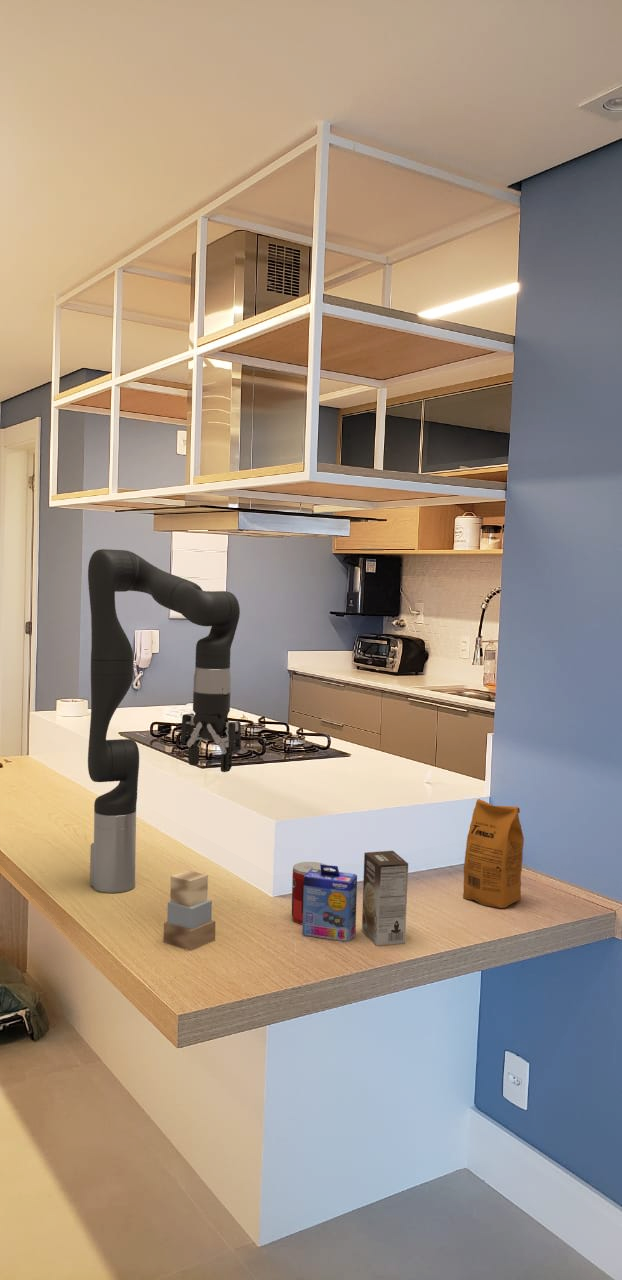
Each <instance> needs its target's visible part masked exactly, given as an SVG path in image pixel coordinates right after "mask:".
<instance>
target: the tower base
mask: <svg viewBox="0 0 622 1280" xmlns="http://www.w3.org/2000/svg"><path fill="white" fill-rule="evenodd" d="M214 941H216V920H214V919H212V920H211V921H210V922H208V923H206V924H204V925H202V926H199V927H197V928H195V929H193V930H191V929H187V928H183V927H180V926H176V925H172V924H168V923H167V921H165V922H163V941H162V942H163V943H165V944H169V945H171V946H175V947H178V948H181V949H184V950H186V951H194V950H196V949H198V948H200V947H202V946H205V945H207V944H209V943H211V942H214Z"/></svg>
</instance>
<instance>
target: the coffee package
mask: <svg viewBox="0 0 622 1280" xmlns="http://www.w3.org/2000/svg"><path fill="white" fill-rule="evenodd" d="M519 813H521V810H520V807H518V806H509V805H506V806H505V805H494V804H491V803H489V802H487V801H485V800H483V799H481V798H478V799H477V800H476V802H475V807H474V809H473V813H472V817H471V821H470V825H469V831H468V833H467V837H466V847H465V854H464V855H465V856H464V863H463V893H462V895H463V896H462V899H465V900H473V901H475V902H477V903H479V904H480V905H482V906H485V907H493V908H498V909H505V908H507V907H509V906H510V905H512V904H513V903H515V902H518V901H520V899H521V898H522V890H521V888H522V887H521V886H522V878H521V875H522V871H523V858H524V856H523V854H524V841H525V840H524V839H525V838H524V835H523V834H524V833H523V829H522V824H521V821H520V817H519V816H520V815H519Z"/></svg>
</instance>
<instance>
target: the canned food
mask: <svg viewBox="0 0 622 1280" xmlns="http://www.w3.org/2000/svg"><path fill="white" fill-rule="evenodd" d="M320 864H322V865H327V864H326V863H322V862H318V861H301V862H297V863H295V864H293V867H292V877H291V878H292V882H291V883H292V884H291V885H292V886H291V890H292V891H291V917H292V920H293V921H294V922H295V921H296V923H297V922H298V924H300V923H301V924H300V925H303V893H304V876H305V874H306V873H308V872H309V871H310V870H311V869H318V870H321V866H320ZM324 870H330V871H331V868H324Z"/></svg>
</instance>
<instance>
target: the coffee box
mask: <svg viewBox="0 0 622 1280" xmlns="http://www.w3.org/2000/svg"><path fill="white" fill-rule="evenodd" d="M363 857H364V860H363V888H362V890H363V891H362V910H361V912H362V914H361V916H362V918H361V919H362V920H361V930H362V931H363V932H364V934H365V935H367V937H368V938H369V939H370V940H371V941H372V942H373V943H374V945H376V946H386V945H387V946H388V945H390V946H391V945H400V944H405V943H406V931H407V930H406V927H407V926H406V923H407V903H408V902H407V900H408V878H409V877H408V876H409V863H408V862H407V861H406V860H405V859H404V858H403V857H401V856H400V854H399V855H398V853H396V852H395V851H394V850H383V851H369V852H368V851H367V852H364V856H363Z"/></svg>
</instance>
